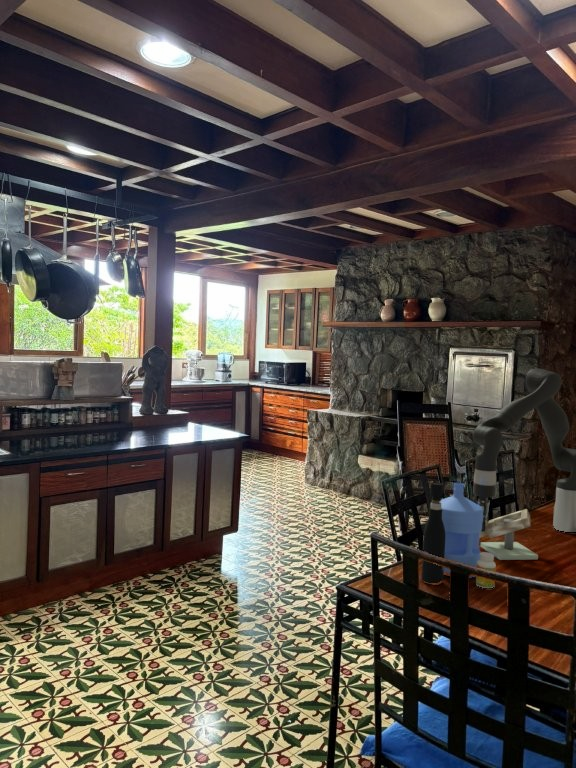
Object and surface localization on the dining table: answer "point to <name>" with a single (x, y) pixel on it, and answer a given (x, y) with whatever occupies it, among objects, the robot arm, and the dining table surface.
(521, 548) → the post base plate
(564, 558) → the dining table surface
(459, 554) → the water jug
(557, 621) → the dining table surface
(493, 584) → the supplement bottle
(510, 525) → the birch loop
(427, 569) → the wine bottle
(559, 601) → the dining table surface
